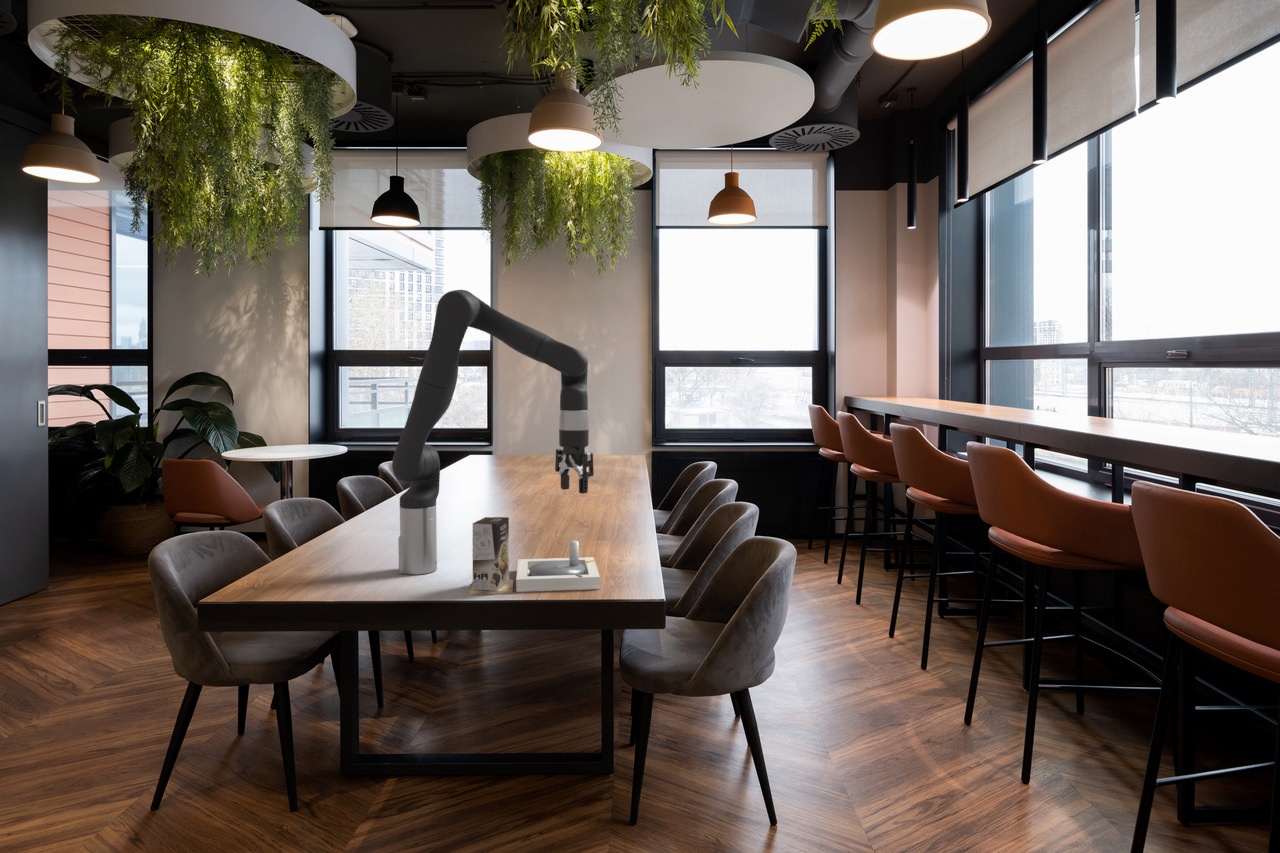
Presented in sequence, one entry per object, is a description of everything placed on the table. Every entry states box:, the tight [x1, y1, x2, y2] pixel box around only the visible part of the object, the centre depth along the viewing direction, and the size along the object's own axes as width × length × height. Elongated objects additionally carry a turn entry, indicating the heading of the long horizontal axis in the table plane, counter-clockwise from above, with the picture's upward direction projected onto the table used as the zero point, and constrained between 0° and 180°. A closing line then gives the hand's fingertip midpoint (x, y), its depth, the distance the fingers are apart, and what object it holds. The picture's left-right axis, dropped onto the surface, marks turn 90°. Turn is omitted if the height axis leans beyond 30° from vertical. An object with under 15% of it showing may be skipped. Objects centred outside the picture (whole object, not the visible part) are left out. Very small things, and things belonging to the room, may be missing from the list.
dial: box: [529, 540, 585, 576], centre depth 187 cm, size 14×14×8 cm
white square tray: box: [515, 556, 601, 593], centre depth 187 cm, size 20×20×3 cm
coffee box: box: [472, 516, 510, 591], centre depth 179 cm, size 9×6×16 cm
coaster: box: [468, 579, 514, 596], centre depth 179 cm, size 10×10×1 cm
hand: (573, 491), depth 189 cm, fingers open, 8 cm apart
